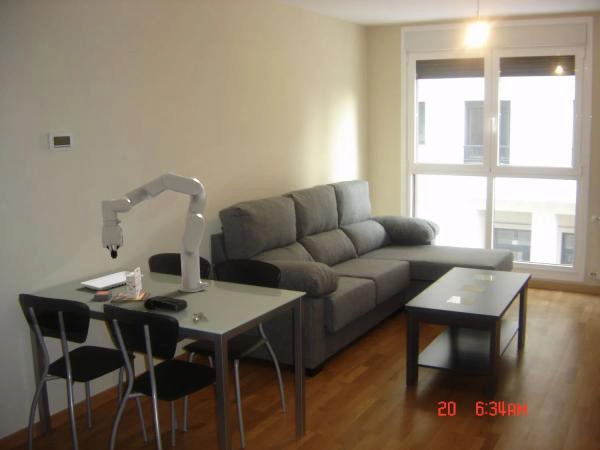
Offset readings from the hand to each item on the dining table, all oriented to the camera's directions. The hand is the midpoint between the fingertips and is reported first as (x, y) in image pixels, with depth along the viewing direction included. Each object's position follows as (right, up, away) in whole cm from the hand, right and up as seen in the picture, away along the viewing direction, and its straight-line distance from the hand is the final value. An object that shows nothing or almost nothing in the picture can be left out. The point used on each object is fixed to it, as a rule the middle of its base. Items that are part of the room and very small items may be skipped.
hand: (114, 258), depth 340 cm
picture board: (+9, -20, -1) cm, 22 cm away
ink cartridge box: (+11, -20, -1) cm, 22 cm away
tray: (-8, -16, +27) cm, 32 cm away
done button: (-5, -20, -2) cm, 21 cm away
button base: (-5, -21, -1) cm, 21 cm away
